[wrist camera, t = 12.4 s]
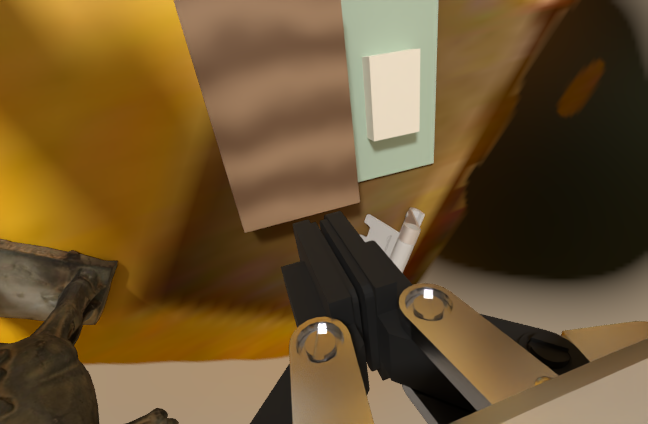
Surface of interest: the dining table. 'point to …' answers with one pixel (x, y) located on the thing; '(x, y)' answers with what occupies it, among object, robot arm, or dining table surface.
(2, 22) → the dining table surface
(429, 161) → the mat
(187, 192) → the dining table surface
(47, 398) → the statue
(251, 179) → the deck
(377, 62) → the cream rectangular block
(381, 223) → the portable electronic device stand
